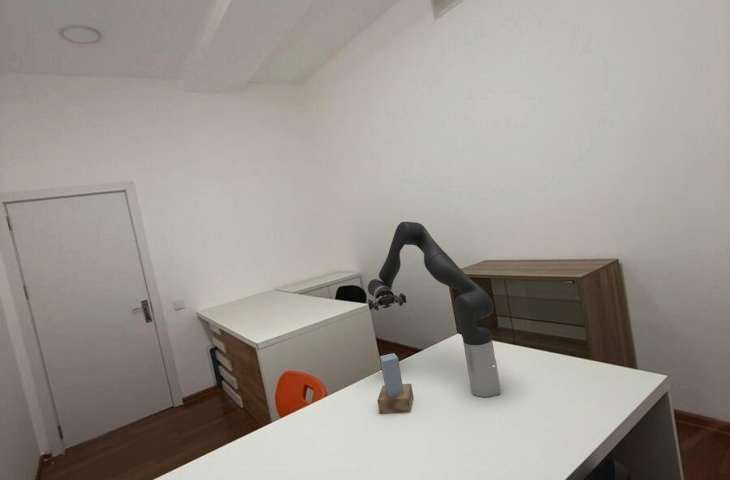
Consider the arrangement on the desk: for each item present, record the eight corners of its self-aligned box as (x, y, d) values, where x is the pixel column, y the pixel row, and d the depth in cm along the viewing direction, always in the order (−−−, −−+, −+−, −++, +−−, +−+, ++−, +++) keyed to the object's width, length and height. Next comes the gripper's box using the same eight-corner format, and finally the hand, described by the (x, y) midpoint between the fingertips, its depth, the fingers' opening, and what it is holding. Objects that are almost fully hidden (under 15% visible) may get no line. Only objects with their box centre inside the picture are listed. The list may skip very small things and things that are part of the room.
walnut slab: (413, 397, 134) (411, 383, 133) (410, 413, 124) (408, 398, 123) (385, 399, 136) (382, 385, 135) (380, 414, 126) (377, 400, 126)
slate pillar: (399, 387, 132) (394, 353, 131) (403, 393, 127) (398, 358, 126) (385, 390, 131) (379, 356, 130) (389, 397, 126) (383, 361, 125)
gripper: (364, 290, 157) (367, 299, 140) (399, 284, 157) (406, 291, 141) (368, 308, 157) (371, 319, 141) (402, 302, 158) (410, 312, 142)
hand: (389, 305), depth 141 cm, fingers open, 8 cm apart
